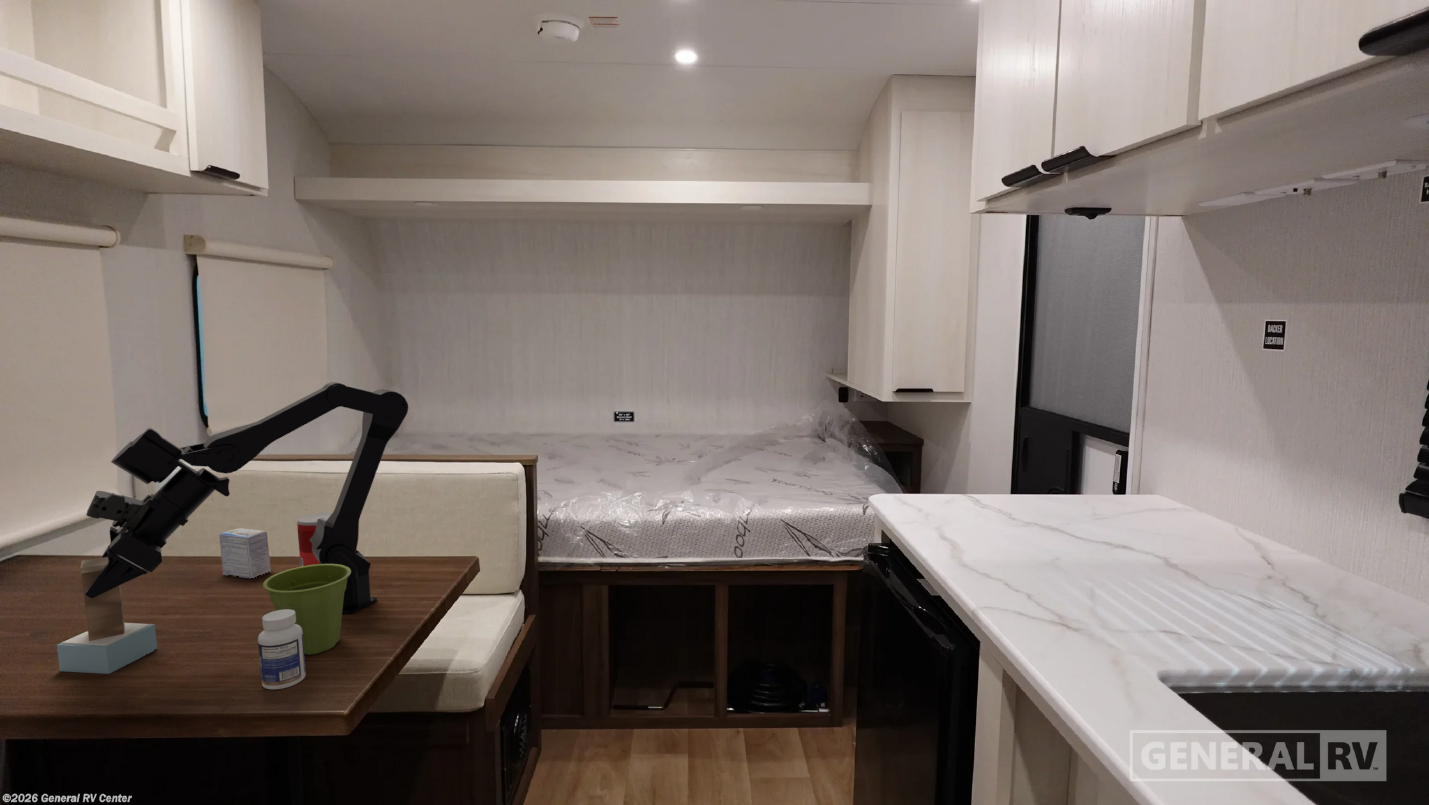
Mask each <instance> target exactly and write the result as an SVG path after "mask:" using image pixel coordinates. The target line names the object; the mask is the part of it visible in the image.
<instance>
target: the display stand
mask: <svg viewBox="0 0 1429 805" xmlns="http://www.w3.org/2000/svg"><path fill="white" fill-rule="evenodd" d="M124 624H125V628H124V634H121V635H116V636H111V637H106V638H102V639H97V640H92V641H89V636H88V630H87V631H85V632H82V633H80V634H78V635H75V636H74V637H71V638H69V639H67V640H65V641H64V640H63V641H62V642H60V643H57V644H56V648H57V659H58V666H59V671H60V672H68V673H69V672H71V673H72V672H73V673H88V674H90V673H91V674H104V675H105V674H106V675H109V674H111V673H114V672H115V671H117V670H119V669H121V668H124V667H125V666H127V665H129V664H131V663H133V662H135V661H137V660H139V659H140V658H144V657H145V656H147V655H149V654H151V653H152V652H155V651H156V650H155V649H157V650H158V645H157V632H156V625H155V624H154V623H136V622H135V623H134V622H124ZM154 650H155V651H154ZM146 654H147V655H146Z"/></svg>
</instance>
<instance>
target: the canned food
mask: <svg viewBox="0 0 1429 805" xmlns="http://www.w3.org/2000/svg"><path fill="white" fill-rule="evenodd" d="M332 513H333V512H316V513H311V514H307V515H303V516H300V517H298V518H297V522H296V525H297V528H296V530H297V539H298V540H297V541H298V550H299V564H300V566H299V567H302V566H308V565H317V564H320V562H319V561H318V560H317V558H316V557H315V555H314V554H313V551H312V545H313V544H312V543H311V541H310V538H311V537H312V536H313V535H314V533H315V530H316V525H317V521H318V519H322V520H324V521H327V519H328V518H329V517H330V516H331V514H332Z"/></svg>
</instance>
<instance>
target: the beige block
mask: <svg viewBox="0 0 1429 805" xmlns="http://www.w3.org/2000/svg"><path fill="white" fill-rule="evenodd" d="M107 562H108V557H104V558H101V557H99V558H98V557H97V558H93V559H86V560H82V561H81V563H80V574H81V579H82V580H81V581H82V589H83V591H82V592H83V598H84V606H85V615H86V616H85V617H86V625H87V631H88V636H89V641H92V640H97V639H102V638H106V637H111V636H116V635H121V634H124V628H125V624H124V623H125V616H124V607H123V597H122V588H121V587H122V586H121V585H119V586H117V587H115V588H113V589H111V590H109V591H107V592H105V593H103V594H101V595H99V596H96V597H94V598H89V597H87V596H86V595H85V593H86V592H87V590H88V589H89V587H90V586H91V585H92V583H93V582H94V580H95V579H96V578H97V576H98V575H99V574H100V572H101V571H102V569H103V568H104V567H105V565H106V564H107Z"/></svg>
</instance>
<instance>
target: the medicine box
mask: <svg viewBox="0 0 1429 805" xmlns="http://www.w3.org/2000/svg"><path fill="white" fill-rule="evenodd" d="M268 540H269V539H268V531H266V530H259V529H252V528H249V529H248V528H242V527H240V528H239V527H238V528H235V529H231V530H227V531H224V532H222V533H219V546H220V547H219V548H220V556H221V558H220V559H221V568H222V575H223V576H228V575H233V576H232V577H236V576H239V577H238V578H244V579H251V578H253V579H255V577H256V578H258V577H257V576H259V575H261V576H263V574H264V575H266V574H265V573H267V574H269V573H271V562H270V550H269V541H268ZM268 572H269V573H268ZM259 577H260V576H259Z"/></svg>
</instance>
